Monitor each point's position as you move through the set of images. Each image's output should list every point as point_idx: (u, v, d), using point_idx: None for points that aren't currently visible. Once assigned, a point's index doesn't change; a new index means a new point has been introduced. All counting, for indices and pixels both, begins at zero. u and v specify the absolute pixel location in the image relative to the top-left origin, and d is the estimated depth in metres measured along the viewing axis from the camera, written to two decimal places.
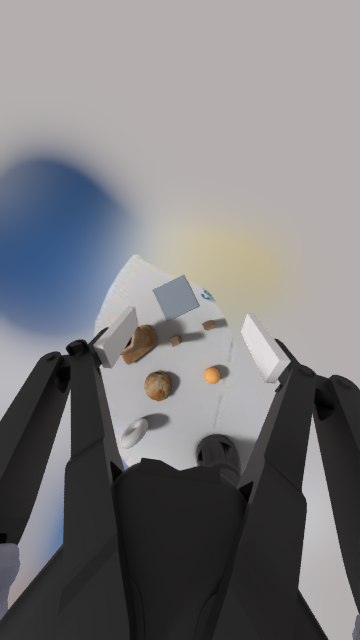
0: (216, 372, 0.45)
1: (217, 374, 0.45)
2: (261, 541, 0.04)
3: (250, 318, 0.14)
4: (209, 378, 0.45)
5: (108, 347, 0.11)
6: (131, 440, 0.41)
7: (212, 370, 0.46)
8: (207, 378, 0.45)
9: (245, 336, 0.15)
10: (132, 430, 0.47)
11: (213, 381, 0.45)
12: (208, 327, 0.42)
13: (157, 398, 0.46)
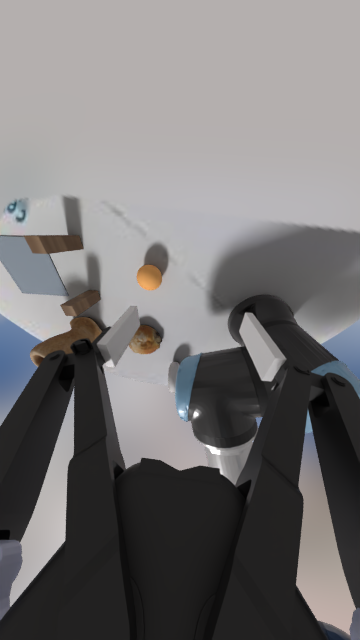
0: (141, 271, 0.27)
1: (144, 271, 0.27)
2: (259, 539, 0.04)
3: (248, 317, 0.14)
4: (145, 287, 0.28)
5: (111, 346, 0.11)
6: (170, 387, 0.41)
7: (137, 275, 0.28)
8: (146, 288, 0.29)
9: (243, 334, 0.15)
10: None
11: (151, 283, 0.28)
12: (40, 250, 0.22)
13: (150, 349, 0.39)
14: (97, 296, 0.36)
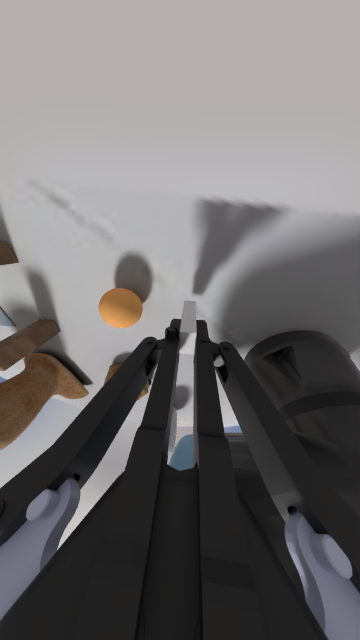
0: (103, 301, 0.16)
1: (108, 302, 0.16)
2: (213, 513, 0.04)
3: (189, 305, 0.16)
4: (113, 325, 0.17)
5: None
6: None
7: (99, 306, 0.17)
8: (115, 326, 0.18)
9: None
10: None
11: (121, 321, 0.16)
12: None
13: None
14: (53, 328, 0.24)
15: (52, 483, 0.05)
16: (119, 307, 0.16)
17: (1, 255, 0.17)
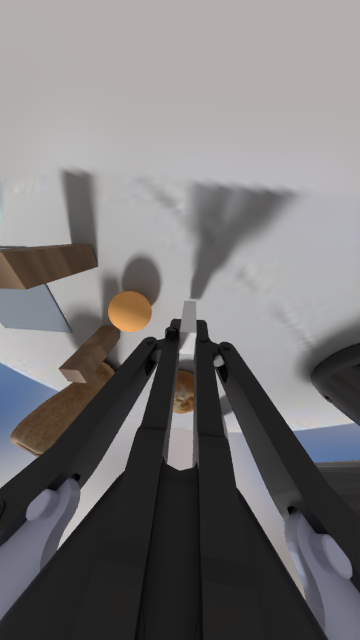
0: (144, 297, 0.17)
1: (142, 295, 0.18)
2: (213, 513, 0.04)
3: (189, 305, 0.16)
4: None
5: None
6: None
7: (148, 306, 0.17)
8: None
9: None
10: None
11: None
12: (12, 283, 0.10)
13: (193, 408, 0.27)
14: (116, 335, 0.23)
15: (52, 483, 0.05)
16: None
17: (87, 259, 0.16)
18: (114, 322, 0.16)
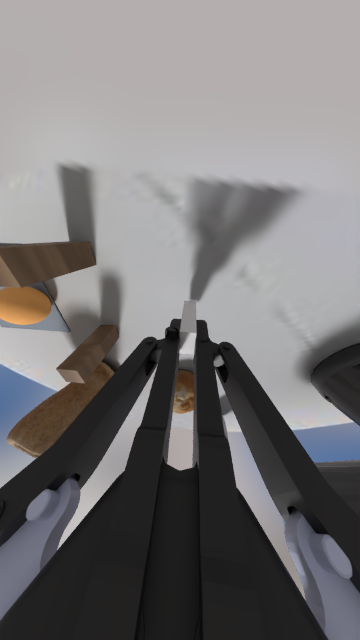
0: (36, 289, 0.19)
1: (33, 288, 0.19)
2: (213, 513, 0.04)
3: (189, 305, 0.16)
4: None
5: None
6: None
7: (44, 296, 0.19)
8: None
9: None
10: None
11: None
12: (7, 281, 0.10)
13: (193, 408, 0.26)
14: (115, 334, 0.23)
15: (52, 483, 0.05)
16: None
17: (86, 257, 0.16)
18: (6, 316, 0.17)
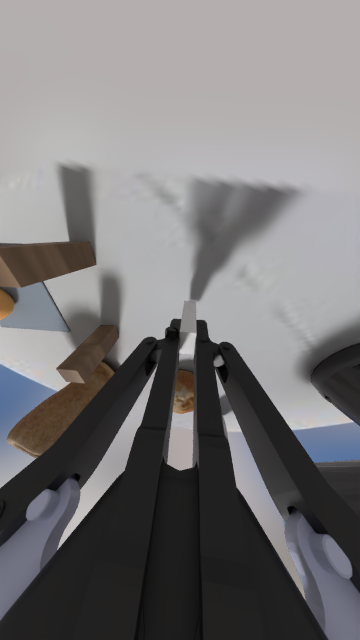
0: None
1: None
2: (213, 513, 0.04)
3: (189, 305, 0.16)
4: None
5: None
6: None
7: None
8: None
9: None
10: None
11: None
12: (7, 281, 0.10)
13: None
14: (115, 334, 0.23)
15: (52, 483, 0.05)
16: None
17: (86, 257, 0.16)
18: None
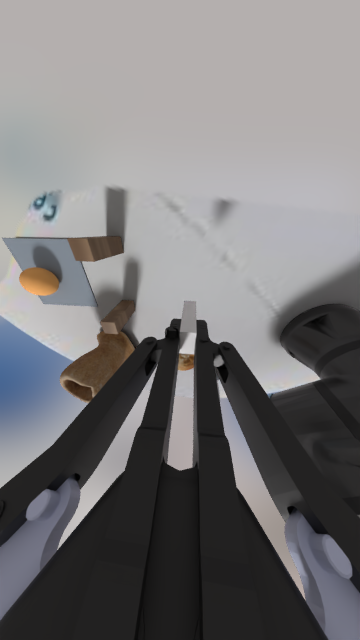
0: (26, 275, 0.24)
1: (31, 275, 0.24)
2: (213, 513, 0.04)
3: (189, 305, 0.16)
4: (41, 292, 0.26)
5: None
6: None
7: (22, 281, 0.24)
8: (42, 294, 0.26)
9: None
10: None
11: (48, 286, 0.26)
12: (87, 257, 0.17)
13: (193, 366, 0.34)
14: (133, 307, 0.31)
15: (52, 483, 0.05)
16: (43, 276, 0.25)
17: (118, 246, 0.23)
18: None
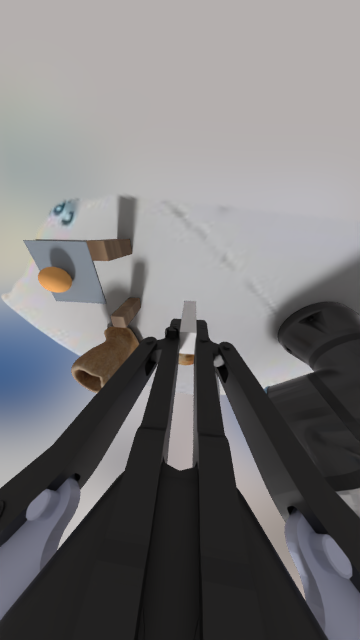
0: (45, 274, 0.27)
1: (49, 273, 0.27)
2: (213, 513, 0.04)
3: (189, 305, 0.16)
4: (57, 289, 0.28)
5: None
6: None
7: (40, 279, 0.27)
8: (57, 291, 0.29)
9: None
10: None
11: (63, 284, 0.28)
12: (102, 257, 0.20)
13: None
14: (139, 304, 0.33)
15: (52, 483, 0.05)
16: (59, 275, 0.28)
17: (128, 248, 0.26)
18: None
